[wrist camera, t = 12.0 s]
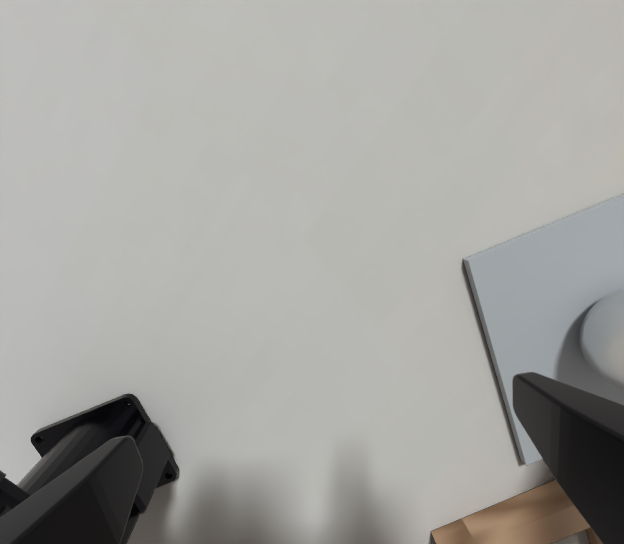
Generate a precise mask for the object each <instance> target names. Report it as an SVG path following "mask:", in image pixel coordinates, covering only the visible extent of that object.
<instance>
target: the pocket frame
mask: <svg viewBox="0 0 624 544" xmlns="http://www.w3.org/2000/svg"><path fill="white" fill-rule="evenodd" d="M585 529H586V530H587V534H588V538H589V543H590V544H603V543H602V542H601V540H600V539H599V538H598V536H597V535H596V534H595V532H594V531H593V530H592V528H591V527H590V526H589V524H588V523H587V522H586V520H585V519H584V518H583V516H582V515H581V514H580V512H579V511H578V510H577V508H576V507H575V506H574V504H573V503H572V502H571V500H570V499H569V498H568V496H567V495H566V493H565V492H564V491H563V489H562V488H561V487H560V485H559V484H558V482H557V481H556V480H553V481H551V482H549V483H546V484H544V485H541V486H539V487H537V488H534V489H532V490H529V491H527V492H525V493H522V494H520V495H517V496H515V497H513V498H510V499H508V500H505V501H503V502H501V503H498V504H496V505H493V506H491V507H489V508H486V509H484V510H481V511H479V512H477V513H474V514H472V515H469V516H467V517H465V518H462V519H460V520H457V521H455V522H453V523H450V524H448V525H445V526H443V527H441V528H438V529H436V530H434V531H431V533H432V536H433V538H434V541H435V543H436V544H552V543H554V542H557V541H559V540H561V539H564V538H566V537H568V536H571V535H573V534H576V533H578V532H580V531H583V530H585Z"/></svg>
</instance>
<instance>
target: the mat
mask: <svg viewBox="0 0 624 544" xmlns="http://www.w3.org/2000/svg"><path fill="white" fill-rule="evenodd" d="M463 261H464V264H465V268H466V271H467V275H468V278H469V282H470V285H471V289H472V292H473V296H474V299H475V303H476V306H477V310H478V313H479V316H480V320H481V323H482V327H483V330H484V334H485V337H486V341H487V344H488V348H489V351H490V355H491V358H492V362H493V365H494V369H495V372H496V376H497V379H498V383H499V386H500V390H501V393H502V397H503V400H504V404H505V407H506V410H507V414H508V417H509V421H510V424H511V428H512V431H513V435H514V438H515V442H516V445H517V449H518V452H519V456H520V459H521V460H522V461H523V463H524V464H525V465H526V466H527V465H530V464H532V463H534V462H537V461H539V460H542V457H541V455H540V454H539V452H538V451H537V449H536V447H535V446H534V444H533V442H532V441H531V439H530V438H529V436H528V434H527V433H526V431H525V429H524V428H523V426H522V425H521V423H520V421H519V420H518V418H517V416H516V414H515V412H514V409H513V401H512V380H513V376H514V375H516V374H520V373H526V372H535V373H538V374H541V375H543V376H546V377H549V378H551V379H554V380H557V381H560V382H562V383H565V384H568V385H570V386H573V387H576V388H579V389H581V390H584V391H587V392H589V393H592V394H595V395H598V396H600V397H603V398H606V399H608V400H611V401H614V402H617V403H619V404H622V405H624V391H622V390H620V389H618V388H616V387H614V386H613V385H611V384H610V383H609V382H607V381H606V380H605V379H603V378H602V377H601V376H600V375H598V374H597V373H596V372H595V371H593V370H592V369H591V368H590V366H589V365H588V363H587V362H586V360H585V358H584V355H583V353H582V350H581V348H580V342H579V335H580V329H581V325H582V323H583V321H584V318H585V316H586V315H587V313H588V312H589V310H590V309H591V308H592V307H593V306H594V305H595V304H596V303H597V302H598V301H599V300H601V299H602V298H603V297H605V296H607V295H609V294H610V293H613V292H616V291H619V290H622V289H624V194H621V195H619V196H616V197H614V198H612V199H609V200H607V201H604V202H602V203H599V204H597V205H594V206H592V207H589V208H587V209H585V210H582V211H580V212H577V213H575V214H572V215H570V216H567V217H565V218H563V219H560V220H558V221H555V222H553V223H550V224H548V225H545V226H543V227H541V228H538V229H536V230H533V231H531V232H528V233H526V234H523V235H521V236H518V237H516V238H514V239H511V240H509V241H506V242H504V243H501V244H499V245H496V246H494V247H492V248H489V249H487V250H484V251H482V252H479V253H477V254H474V255H472V256H470V257H467V258H465V259H463Z"/></svg>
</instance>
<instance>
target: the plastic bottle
mask: <svg viewBox="0 0 624 544" xmlns="http://www.w3.org/2000/svg"><path fill="white" fill-rule="evenodd" d="M579 342H580V348H581V350H582V353H583V355H584V358H585V360H586V362H587V363H588V365H589V366H590V368H591V369H592V370H593V371H595V372H596V373H597V374H598V375H600V376H601V377H602V378H603V379H605V380H606V381H607V382H609V383H610V384H611V385H613V386H614V387H616V388H618V389H620V390H622V391H624V289H622V290H619V291H616V292H613V293H610V294H609V295H607V296H605V297H603V298H602V299H601V300H599V301H598V302H597V303H596V304H595V305H594V306H593V307H592V308H591V309H590V310H589V312H588V313H587V315H586V316H585V318H584V321H583V323H582V325H581V329H580V335H579Z"/></svg>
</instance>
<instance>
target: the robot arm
mask: <svg viewBox="0 0 624 544" xmlns="http://www.w3.org/2000/svg"><path fill="white" fill-rule="evenodd" d="M125 401H128V402H129V403H130V405H127V404H126V403H125ZM512 401H513V409H514V412H515V414H516V416H517V418H518V420H519V421H520V423H521V425H522V426H523V428H524V429H525V431H526V433H527V434H528V436H529V438H530V439H531V441H532V442H533V444H534V446H535V447H536V449H537V451H538V452H539V454H540V455H541V457H542V459H543V460H544V462H545V464H546V465H547V467H548V468H549V470H550V472H551V473H552V475H553V476H554V478H555V479H556V481H557V482H558V484H559V485H560V487H561V488H562V489H563V491H564V492H565V493H566V495H567V496H568V498H569V499H570V500H571V502H572V503H573V504H574V506H575V507H576V508H577V510H578V511H579V512H580V514H581V515H582V516H583V518H584V519H585V520H586V522H587V523H588V524H589V526H590V527H591V528H592V530H593V531H594V532H595V534H596V535H597V536H598V538H599V539H600V540H601V542H602V543H603V544H624V405H622V404H619V403H617V402H614V401H611V400H608V399H606V398H603V397H600V396H598V395H595V394H592V393H589V392H587V391H584V390H581V389H579V388H576V387H573V386H570V385H568V384H565V383H562V382H560V381H557V380H554V379H551V378H549V377H546V376H543V375H541V374H538V373H535V372H526V373H520V374H516V375H514V376H513V380H512ZM41 437H43V438H44V439H42V438H41ZM31 442H32V444H33V446H34V447H35V448H36V450H37V451H38V453H39V454H40V455H41V457H42V459H41V460H40V461H39V462H38V463H37V464H36V465H35V466H34V467H33V468H32V470H31V471H30V472H29V473H28V474H27V475H26V476H25V477H24V478H23V479H22V480H21V481H20V483H19V484H18V485H15V484H14V483H12V482H11V481H9V480H8V479H6V478H5V476H6V474H4V473H3V472H1V471H0V544H127V542H128V540H129V538H130V536H131V533H132V531H133V529H134V527H135V524H136V522H137V520H138V518H139V515H140V514H143V513H144V512H145V511H146V509H147V506H148V504H149V502H150V499H151V497H152V495H153V493H154V490H155V488H157V487H160V486H162V485H165V484H167V483H170V482H172V481H174V480H175V479H176V477H177V474H178V471H179V470H178V467H177V465H176V464H175V462H174V460H173V459H172V457H171V455H170V451H169V449H168V448H167V446H166V444H165V443H164V441H163V439H162V437H161V436H160V434H159V432H158V431H157V429H156V427H155V426H154V424H153V423H152V422H151V421H150V420H149V418H148V416H147V415H146V413H145V411H144V410H143V408H142V406H141V405H140V403H139V401H138V399H137V398H136V397H135V396H134V395H132V394H124V395H122V396H120V397H117V398H115V399H112V400H110V401H107V402H105V403H102V404H100V405H98V406H95V407H93V408H90V409H88V410H85V411H83V412H80V413H78V414H76V415H73V416H71V417H68V418H66V419H63V420H61V421H58V422H56V423H53V424H51V425H49V426H46V427H44V428H41V429H39V430H38V431H37V432H35V433H34V434H33V435H32V437H31ZM167 472H171V473H172V474H169V473H167Z"/></svg>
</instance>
